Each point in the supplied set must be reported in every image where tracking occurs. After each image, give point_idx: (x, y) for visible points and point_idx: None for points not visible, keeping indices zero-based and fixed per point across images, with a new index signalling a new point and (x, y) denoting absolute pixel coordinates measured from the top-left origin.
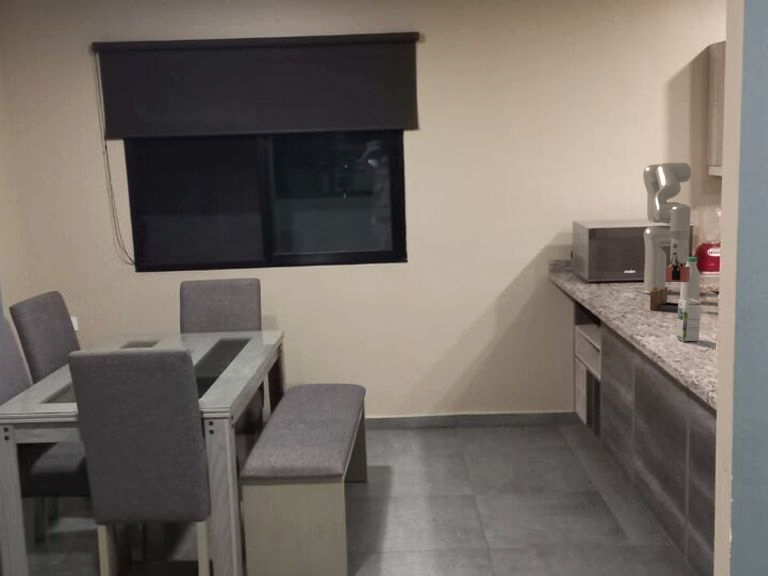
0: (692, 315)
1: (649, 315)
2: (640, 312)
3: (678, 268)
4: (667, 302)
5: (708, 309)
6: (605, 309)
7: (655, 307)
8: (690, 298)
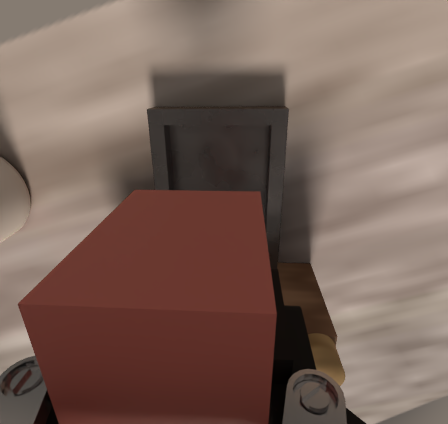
0: None
1: (435, 252)
2: (373, 302)
3: (347, 419)
4: None
5: (101, 29)
6: (364, 412)
7: (304, 272)
8: (2, 184)
